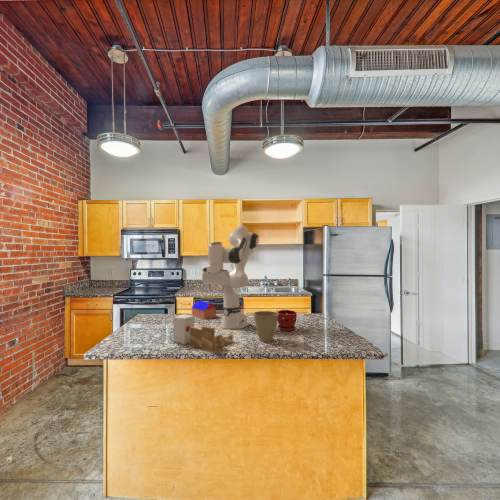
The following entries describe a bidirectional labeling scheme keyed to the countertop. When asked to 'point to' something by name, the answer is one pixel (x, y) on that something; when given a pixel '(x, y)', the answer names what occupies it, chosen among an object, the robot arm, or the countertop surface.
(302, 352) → the countertop surface
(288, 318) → the plant pot
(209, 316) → the house
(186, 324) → the supplement box
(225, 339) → the rail
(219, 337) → the wood grain block
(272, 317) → the plant pot
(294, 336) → the countertop surface
